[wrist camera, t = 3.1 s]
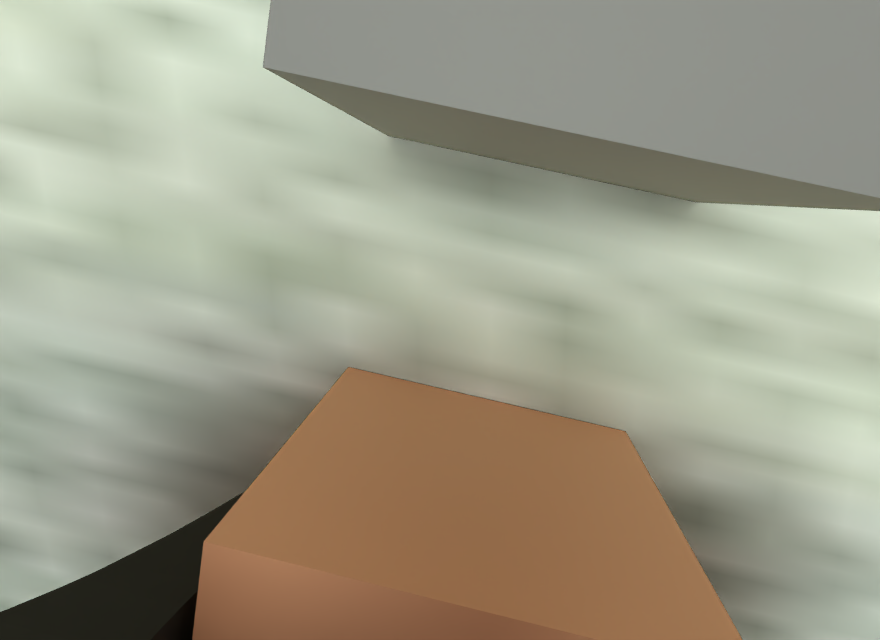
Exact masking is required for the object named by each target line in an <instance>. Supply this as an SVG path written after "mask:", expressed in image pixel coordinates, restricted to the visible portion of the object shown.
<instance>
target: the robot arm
mask: <svg viewBox="0 0 880 640" xmlns="http://www.w3.org/2000/svg"><path fill="white" fill-rule="evenodd" d="M243 493H244V492H243ZM243 493H242V494H240V495H238V496H236V497H235V498H233V499H231V500H230V501H228V502H226V503H225V504H223V505H221V506H219V507H218V508H216V509H214V510H213V511H211V512H209V513H207V514H206V515H204V516H202V517H200V518H198V519H197V520H195V521H193V522H191V523H189V524H188V525H186V526H184V527H182V528H180V529H179V530H177V531H175V532H173V533H172V534H170V535H168V536H166V537H164V538H162V539H160V540H158V541H156V542H154V543H152V544H150V545H148V546H146V547H144V548H142V549H140V550H138V551H136V552H134V553H132V554H130V555H128V556H126V557H124V558H122V559H120V560H118V561H116V562H114V563H112V564H110V565H108V566H106V567H104V568H102V569H100V570H98V571H96V572H94V573H92V574H89V575H87V576H85V577H83V578H81V579H78V580H76V581H74V582H72V583H69V584H67V585H65V586H63V587H60V588H58V589H56V590H53V591H51V592H48V593H46V594H44V595H41V596H39V597H36V598H34V599H31V600H29V601H27V602H24V603H22V604H19V605H17V606H15V607H12V608H10V609H7V610H5V611H2V612H0V640H192V637H193V628H194V620H195V611H196V602H197V594H198V585H199V577H200V568H201V560H202V551H203V542H204V540H205V539H206V538H207V537H208V536H209V534H210V533H211V532H212V531H213V530H214V528H215V527H216V526H217V525H218V524H219V522H220V521H221V520H222V519H223V518H224V516H225V515H226V514H227V513H228V512H229V510H230V509H231V508H232V507H233V506H234V504H235V503H236V502H237V501H238V500H239V498H240V497H241V496H242V495H243Z"/></svg>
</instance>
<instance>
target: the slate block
mask: <svg viewBox="0 0 880 640" xmlns="http://www.w3.org/2000/svg"><path fill="white" fill-rule="evenodd" d="M263 67H264V68H265V69H267V70H269V71H271V72H273V73H275V74H276V75H278V76H280V77H282V78H284V79H285V80H287V81H289V82H291V83H293V84H295V85H296V86H298V87H300V88H302V89H304V90H306V91H307V92H309V93H311V94H313V95H315V96H316V97H318V98H320V99H322V100H324V101H326V102H327V103H329V104H331V105H333V106H335V107H337V108H338V109H340V110H342V111H344V112H346V113H347V114H349V115H351V116H353V117H355V118H357V119H358V120H360V121H362V122H364V123H366V124H368V125H369V126H371V127H373V128H375V129H377V130H379V131H380V132H382V133H384V134H386V135H388V136H392V137H396V138H401V139H405V140H410V141H415V142H419V143H424V144H429V145H433V146H438V147H443V148H447V149H452V150H456V151H461V152H466V153H470V154H475V155H480V156H484V157H489V158H494V159H498V160H503V161H508V162H512V163H517V164H521V165H526V166H531V167H535V168H540V169H545V170H549V171H554V172H559V173H563V174H568V175H572V176H577V177H582V178H586V179H591V180H596V181H600V182H605V183H610V184H614V185H619V186H623V187H628V188H633V189H637V190H642V191H647V192H651V193H656V194H661V195H665V196H670V197H675V198H679V199H684V200H688V201H693V202H701V203H723V204H744V205H765V206H786V207H807V208H828V209H850V210H871V211H880V0H271V3H270V12H269V20H268V28H267V37H266V45H265V53H264V62H263Z"/></svg>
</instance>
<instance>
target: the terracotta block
mask: <svg viewBox="0 0 880 640" xmlns="http://www.w3.org/2000/svg"><path fill="white" fill-rule="evenodd" d="M192 640H742V638H741V636H740V634H739V633H738V631H737V629H736V627H735V626H734V624H733V622H732V620H731V618H730V617H729V615H728V613H727V611H726V610H725V608H724V606H723V604H722V602H721V601H720V599H719V597H718V595H717V593H716V592H715V590H714V588H713V586H712V585H711V583H710V581H709V579H708V577H707V576H706V574H705V572H704V570H703V569H702V567H701V565H700V563H699V561H698V560H697V558H696V556H695V554H694V553H693V551H692V549H691V547H690V545H689V544H688V542H687V540H686V538H685V536H684V535H683V533H682V531H681V529H680V528H679V526H678V524H677V522H676V520H675V519H674V517H673V515H672V513H671V512H670V510H669V508H668V506H667V504H666V503H665V501H664V499H663V497H662V495H661V494H660V492H659V490H658V488H657V487H656V485H655V483H654V481H653V479H652V478H651V476H650V474H649V472H648V471H647V469H646V467H645V465H644V463H643V462H642V460H641V458H640V456H639V455H638V453H637V451H636V449H635V447H634V446H633V444H632V442H631V440H630V438H629V437H628V435H627V433H626V431H622V430H618V429H613V428H609V427H605V426H600V425H596V424H592V423H587V422H583V421H579V420H574V419H570V418H566V417H562V416H557V415H553V414H549V413H544V412H540V411H536V410H531V409H527V408H523V407H518V406H514V405H510V404H506V403H501V402H497V401H493V400H488V399H484V398H480V397H475V396H471V395H467V394H462V393H458V392H454V391H449V390H445V389H441V388H437V387H432V386H428V385H424V384H419V383H415V382H411V381H406V380H402V379H398V378H393V377H389V376H385V375H381V374H376V373H372V372H368V371H363V370H359V369H355V368H350V367H348V368H347V369H346V371H345V372H344V373H343V374H342V375H341V377H340V378H339V379H338V380H337V381H336V383H335V384H334V385H333V386H332V387H331V389H330V390H329V391H328V392H327V393H326V395H325V396H324V397H323V398H322V399H321V401H320V402H319V403H318V404H317V406H316V407H315V408H314V409H313V410H312V412H311V413H310V414H309V415H308V416H307V418H306V419H305V420H304V421H303V422H302V424H301V425H300V426H299V427H298V428H297V430H296V431H295V432H294V433H293V434H292V436H291V437H290V438H289V439H288V440H287V442H286V443H285V444H284V445H283V446H282V448H281V449H280V450H279V451H278V453H277V454H276V455H275V456H274V457H273V459H272V460H271V461H270V462H269V463H268V465H267V466H266V467H265V468H264V469H263V471H262V472H261V473H260V474H259V475H258V477H257V478H256V479H255V480H254V481H253V483H252V484H251V485H250V486H249V487H248V489H247V490H246V491H245V492H244V493H243V495H242V496H241V497H240V498H239V500H238V501H237V502H236V503H235V504H234V506H233V507H232V508H231V509H230V510H229V512H228V513H227V514H226V515H225V516H224V518H223V519H222V520H221V521H220V522H219V524H218V525H217V526H216V527H215V528H214V530H213V531H212V532H211V533H210V534H209V536H208V537H207V538H206V539H205V540H204V542H203V551H202V560H201V568H200V577H199V585H198V594H197V602H196V611H195V620H194V628H193V637H192Z"/></svg>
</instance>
